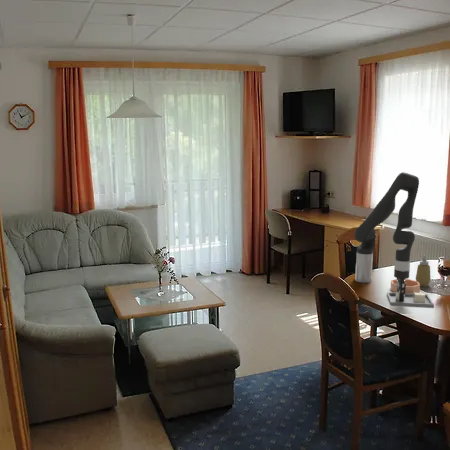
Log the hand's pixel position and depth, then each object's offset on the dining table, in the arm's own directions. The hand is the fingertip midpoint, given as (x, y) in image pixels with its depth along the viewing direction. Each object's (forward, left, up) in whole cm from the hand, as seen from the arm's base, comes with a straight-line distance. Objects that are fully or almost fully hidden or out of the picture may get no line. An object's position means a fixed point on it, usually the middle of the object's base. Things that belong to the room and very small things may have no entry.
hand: (400, 298), depth 268 cm
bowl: (+5, +18, -1) cm, 19 cm away
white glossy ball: (0, 0, -1) cm, 1 cm away
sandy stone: (+9, 0, -1) cm, 10 cm away
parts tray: (+5, 0, -1) cm, 5 cm away
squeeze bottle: (+17, +31, -2) cm, 36 cm away
